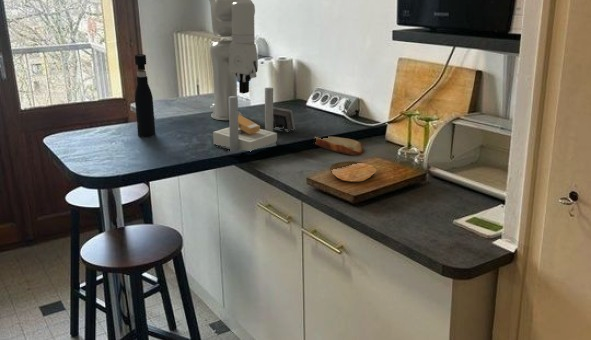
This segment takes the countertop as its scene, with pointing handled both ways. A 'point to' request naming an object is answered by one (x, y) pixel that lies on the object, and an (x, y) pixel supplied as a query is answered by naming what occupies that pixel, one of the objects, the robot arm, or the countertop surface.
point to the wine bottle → (143, 101)
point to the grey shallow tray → (245, 138)
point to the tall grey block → (269, 109)
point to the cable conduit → (233, 123)
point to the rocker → (247, 125)
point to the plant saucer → (342, 164)
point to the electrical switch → (283, 118)
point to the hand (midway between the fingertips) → (244, 92)
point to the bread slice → (341, 145)
